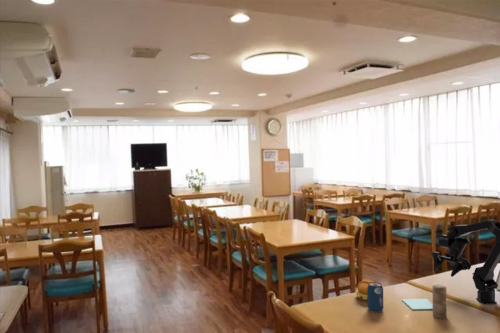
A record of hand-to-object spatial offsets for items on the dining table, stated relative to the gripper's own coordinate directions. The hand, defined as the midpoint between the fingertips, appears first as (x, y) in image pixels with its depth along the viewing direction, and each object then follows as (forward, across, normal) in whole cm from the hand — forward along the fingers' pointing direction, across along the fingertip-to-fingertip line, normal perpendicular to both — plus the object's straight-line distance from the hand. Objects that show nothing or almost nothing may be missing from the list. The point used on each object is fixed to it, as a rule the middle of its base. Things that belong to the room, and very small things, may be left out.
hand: (442, 273), depth 195 cm
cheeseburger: (+32, +18, +15) cm, 40 cm away
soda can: (+37, +6, +20) cm, 42 cm away
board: (+21, -1, +5) cm, 22 cm away
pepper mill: (+23, -14, +7) cm, 28 cm away
